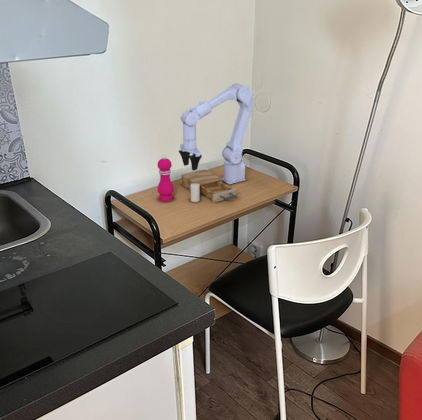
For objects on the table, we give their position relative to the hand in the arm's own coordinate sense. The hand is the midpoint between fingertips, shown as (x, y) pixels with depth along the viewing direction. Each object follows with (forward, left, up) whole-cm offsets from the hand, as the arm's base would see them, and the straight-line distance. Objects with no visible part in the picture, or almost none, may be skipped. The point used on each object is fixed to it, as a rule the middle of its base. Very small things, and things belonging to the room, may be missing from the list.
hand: (190, 167), depth 201 cm
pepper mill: (+16, +6, -10) cm, 20 cm away
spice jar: (+6, +14, -9) cm, 18 cm away
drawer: (-4, +18, -8) cm, 20 cm away
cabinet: (-4, +3, -9) cm, 11 cm away
